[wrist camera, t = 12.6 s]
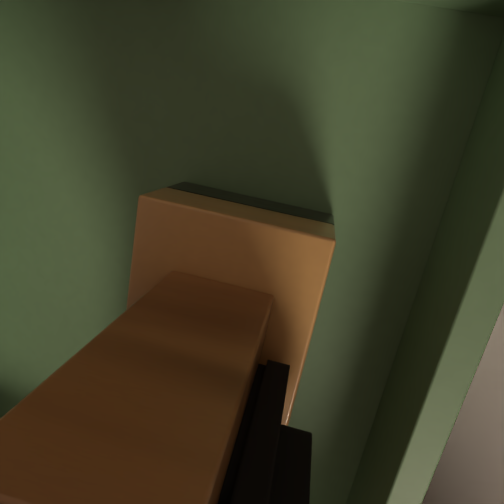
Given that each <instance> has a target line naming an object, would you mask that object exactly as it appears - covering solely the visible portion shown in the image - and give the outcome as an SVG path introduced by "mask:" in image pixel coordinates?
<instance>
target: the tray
mask: <svg viewBox="0 0 504 504" xmlns="http://www.w3.org/2000/svg"><path fill="white" fill-rule="evenodd" d="M181 182H188V183H193V184H197V185H202V186H206V187H211V188H216V189H220V190H225V191H229V192H234V193H238V194H243V195H247V196H252V197H256V198H261V199H265V200H270V201H274V202H279V203H284V204H288V205H293V206H297V207H302V208H306V209H311V210H315V211H320V212H324V213H329V214H332V215H333V216H334V225H335V236H336V245H335V249H334V253H333V257H332V260H331V264H330V268H329V272H328V276H327V279H326V283H325V287H324V291H323V295H322V299H321V302H320V306H319V310H318V314H317V318H316V321H315V325H314V329H313V333H312V337H311V340H310V344H309V348H308V352H307V356H306V359H305V363H304V367H303V371H302V375H301V378H300V382H299V386H298V390H297V394H296V398H295V401H294V405H293V409H292V413H291V417H290V420H289V424H288V426H290V427H293V428H297V429H300V430H304V431H307V432H311V433H312V456H311V479H310V501H309V504H422V502H423V499H424V497H425V494H426V492H427V489H428V487H429V485H430V482H431V480H432V477H433V475H434V472H435V470H436V467H437V465H438V463H439V460H440V458H441V455H442V453H443V450H444V448H445V445H446V443H447V441H448V438H449V436H450V433H451V431H452V428H453V426H454V423H455V421H456V419H457V416H458V414H459V411H460V409H461V406H462V404H463V401H464V399H465V397H466V394H467V392H468V389H469V387H470V384H471V382H472V379H473V377H474V374H475V372H476V370H477V367H478V365H479V362H480V360H481V357H482V355H483V352H484V350H485V348H486V345H487V343H488V340H489V338H490V335H491V333H492V330H493V328H494V326H495V323H496V321H497V318H498V316H499V313H500V311H501V308H502V306H503V304H504V0H0V418H1V417H3V416H4V415H5V414H6V413H7V412H8V411H10V410H11V409H12V408H13V407H14V406H15V405H17V404H18V403H19V402H20V401H21V400H22V399H24V398H25V397H26V396H27V395H28V394H29V393H30V392H32V391H33V390H34V389H35V388H36V387H37V386H39V385H40V384H41V383H42V382H43V381H44V380H46V379H47V378H48V377H49V376H50V375H51V374H52V373H54V372H55V371H56V370H57V369H58V368H59V367H61V366H62V365H63V364H64V363H65V362H66V361H68V360H69V359H70V358H71V357H72V356H73V355H75V354H76V353H77V352H78V351H79V350H80V349H81V348H83V347H84V346H85V345H86V344H87V343H88V342H90V341H91V340H92V339H93V338H94V337H95V336H97V335H98V334H99V333H100V332H101V331H102V330H103V329H105V328H106V327H107V326H108V325H109V324H110V323H112V322H113V321H114V320H115V319H116V318H117V317H119V316H120V315H121V314H122V313H123V312H124V311H125V310H126V308H127V298H128V289H129V280H130V271H131V262H132V253H133V243H134V234H135V225H136V216H137V207H138V198H139V196H140V195H142V194H146V193H149V192H152V191H155V190H159V189H162V188H166V187H168V186H171V185H174V184H177V183H181Z"/></svg>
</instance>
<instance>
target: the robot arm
mask: <svg viewBox="0 0 504 504" xmlns="http://www.w3.org/2000/svg"><path fill="white" fill-rule="evenodd" d="M289 370H290V365H287V364H283V363H280V362H276V361H272V360H267V364H266V365H263V364H258V367H257V371H256V374H255V377H254V381H253V384H252V388H251V391H250V394H249V398H248V401H247V404H246V408H245V411H244V415H243V418H242V421H241V425H240V428H239V431H238V435H237V438H236V442H235V445H234V448H233V452H232V455H231V458H230V462H229V465H228V469H227V472H226V475H225V479H224V482H223V486H222V489H221V493H220V497H219V500H218V504H309V501H310V479H311V456H312V433H311V432H307V431H304V430H300V429H297V428H293V427H290V426H286V425H282V424H281V422H282V415H283V409H284V403H285V396H286V390H287V383H288V377H289Z"/></svg>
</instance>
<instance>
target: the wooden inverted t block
mask: <svg viewBox="0 0 504 504" xmlns="http://www.w3.org/2000/svg"><path fill="white" fill-rule="evenodd" d="M335 245H336V236H335V225H334V216H333V215H332V214H329V213H324V212H320V211H315V210H311V209H306V208H302V207H297V206H293V205H288V204H284V203H279V202H274V201H270V200H265V199H261V198H256V197H252V196H247V195H243V194H238V193H234V192H229V191H225V190H220V189H216V188H211V187H206V186H202V185H197V184H193V183H188V182H181V183H177V184H174V185H171V186H168V187H166V188H162V189H159V190H155V191H152V192H149V193H146V194H142V195H140V196H139V198H138V207H137V216H136V225H135V234H134V243H133V253H132V262H131V271H130V280H129V289H128V298H127V308H126V310H125V311H124V312H123V313H122V314H121V315H120V316H119V317H117V318H116V319H115V320H114V321H113V322H112V323H110V324H109V325H108V326H107V327H106V328H105V329H103V330H102V331H101V332H100V333H99V334H98V335H97V336H95V337H94V338H93V339H92V340H91V341H90V342H88V343H87V344H86V345H85V346H84V347H83V348H81V349H80V350H79V351H78V352H77V353H76V354H75V355H73V356H72V357H71V358H70V359H69V360H68V361H66V362H65V363H64V364H63V365H62V366H61V367H59V368H58V369H57V370H56V371H55V372H54V373H52V374H51V375H50V376H49V377H48V378H47V379H46V380H44V381H43V382H42V383H41V384H40V385H39V386H37V387H36V388H35V389H34V390H33V391H32V392H30V393H29V394H28V395H27V396H26V397H25V398H24V399H22V400H21V401H20V402H19V403H18V404H17V405H15V406H14V407H13V408H12V409H11V410H10V411H8V412H7V413H6V414H5V415H4V416H3V417H1V418H0V504H218V500H219V497H220V493H221V489H222V486H223V482H224V479H225V475H226V472H227V469H228V465H229V462H230V458H231V455H232V452H233V448H234V445H235V442H236V438H237V435H238V431H239V428H240V425H241V421H242V418H243V415H244V411H245V408H246V404H247V401H248V398H249V394H250V391H251V388H252V384H253V381H254V377H255V374H256V371H257V367H258V364H263V365H266V364H267V360H272V361H276V362H280V363H283V364H287V365H290V370H289V377H288V383H287V390H286V396H285V403H284V409H283V415H282V422H281V424H282V425H286V426H288V424H289V420H290V417H291V413H292V409H293V405H294V401H295V398H296V394H297V390H298V386H299V382H300V378H301V375H302V371H303V367H304V363H305V359H306V356H307V352H308V348H309V344H310V340H311V337H312V333H313V329H314V325H315V321H316V318H317V314H318V310H319V306H320V302H321V299H322V295H323V291H324V287H325V283H326V279H327V276H328V272H329V268H330V264H331V260H332V257H333V253H334V249H335Z"/></svg>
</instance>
